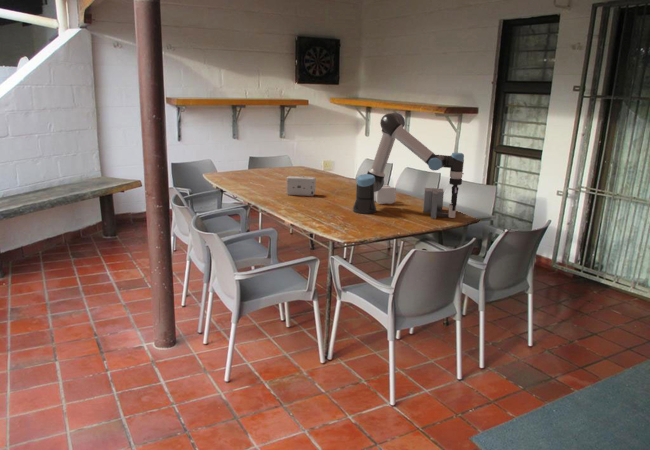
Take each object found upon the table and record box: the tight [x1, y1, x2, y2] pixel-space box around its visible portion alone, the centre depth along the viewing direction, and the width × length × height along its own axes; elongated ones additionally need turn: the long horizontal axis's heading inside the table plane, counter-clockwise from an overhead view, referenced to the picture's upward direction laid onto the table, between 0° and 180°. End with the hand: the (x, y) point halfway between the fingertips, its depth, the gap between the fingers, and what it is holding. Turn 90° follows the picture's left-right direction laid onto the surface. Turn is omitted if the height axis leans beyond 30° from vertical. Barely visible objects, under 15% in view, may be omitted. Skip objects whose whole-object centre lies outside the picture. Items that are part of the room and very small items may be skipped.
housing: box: [422, 187, 445, 220], centre depth 339 cm, size 12×29×16 cm, turn 171°
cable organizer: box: [374, 184, 397, 205], centre depth 368 cm, size 15×11×12 cm
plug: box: [436, 203, 456, 219], centre depth 332 cm, size 15×4×8 cm, turn 80°
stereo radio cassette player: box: [286, 168, 317, 197], centre depth 386 cm, size 21×8×20 cm, turn 84°
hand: (452, 214), depth 332 cm, fingers closed on plug, 4 cm apart
